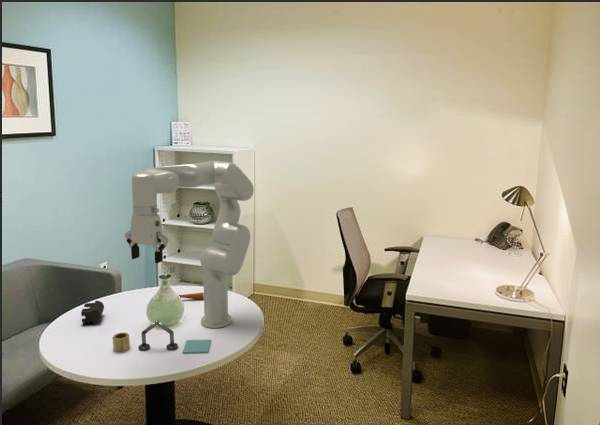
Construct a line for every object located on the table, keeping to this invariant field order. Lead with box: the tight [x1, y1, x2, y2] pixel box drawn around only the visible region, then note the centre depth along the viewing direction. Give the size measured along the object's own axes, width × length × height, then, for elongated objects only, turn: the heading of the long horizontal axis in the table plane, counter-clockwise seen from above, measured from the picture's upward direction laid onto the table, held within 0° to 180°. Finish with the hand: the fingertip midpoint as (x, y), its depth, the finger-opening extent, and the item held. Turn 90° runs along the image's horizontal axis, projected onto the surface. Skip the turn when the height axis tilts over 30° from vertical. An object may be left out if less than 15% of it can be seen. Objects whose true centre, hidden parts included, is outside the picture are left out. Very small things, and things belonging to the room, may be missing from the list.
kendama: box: [179, 292, 204, 301], centre depth 215 cm, size 6×6×20 cm
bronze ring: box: [112, 332, 131, 353], centre depth 172 cm, size 5×5×5 cm
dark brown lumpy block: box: [80, 300, 105, 327], centre depth 194 cm, size 10×7×7 cm
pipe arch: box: [137, 319, 179, 352], centre depth 173 cm, size 4×14×11 cm, turn 94°
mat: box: [182, 339, 212, 355], centre depth 175 cm, size 9×9×1 cm
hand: (147, 260), depth 160 cm, fingers open, 9 cm apart
